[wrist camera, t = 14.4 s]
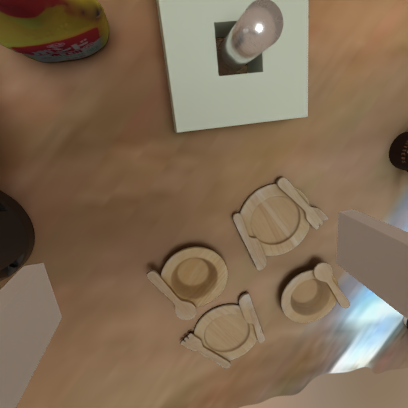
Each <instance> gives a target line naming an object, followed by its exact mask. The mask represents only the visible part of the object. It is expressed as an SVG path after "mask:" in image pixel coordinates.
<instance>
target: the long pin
mask: <svg viewBox="0 0 408 408" xmlns="http://www.w3.org/2000/svg"><path fill="white" fill-rule="evenodd" d="M282 30H283V16H282V13H281V10H280V9H279V7H278V6H277V5H276V4H275V3H274V2H273V1H271V0H255V1H254V2H252V3H251V4H250V5H249V6H248V7H247V9H246V10H245V11H244V13H243V14H242V16H241V17H240V18H239V20H238V21H237V22H236V24H235V25H234V27H233V28H232V29H231V31H230V32H229V33H228V35H227V36H226V38H225V39H224V40H223V42H222V43H221V44H220V46H219V47H218V48H217V50H216V51H217V62H218V72H219V73H221V74H223V75H231V74H233V73H235V72H236V71H238V70H239V69H240V68H242V67H243V66H244V65H246V64H247V63H248V62H250V61H251V60H253V59H254V58H255V57H257V56H258V55H259V54H261V53H262V52H263V51H265V50H266V49H268V48H269V47H270V46H272V45H273V44H274V43H275V42H276V41H277V40H278V39H279V37H280V35H281V33H282Z"/></svg>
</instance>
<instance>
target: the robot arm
mask: <svg viewBox="0 0 408 408" xmlns="http://www.w3.org/2000/svg"><path fill="white" fill-rule="evenodd" d="M33 246H34V230H33V226H32V223H31V221H30V219H29V217H28V215H27V214H26V212H25V211H24V210H23V208H22V207H21V206H20V205H19V204H18V203H17V202H16V201H15V200H13V199H12V198H11V197H9V196H8V195H6V194H4V193H3V192H1V191H0V281H2V280H4V279H6V278H7V277H9V276H10V275H12V274H13V273H14V272H16V271H17V270H18V269H19V268H20V267H21V266H22V265H23V264H24V263H25V262H26V260H27V259H28V258H29V256H30V254H31V252H32V249H33ZM336 264H338V265H339V266H340V267H342V268H343V269H344V270H345V271H347V272H348V273H349V274H350V275H352V276H353V277H354V278H356V279H357V280H358V281H359V282H361V283H362V284H363V285H365V286H366V287H367V288H368V289H370V290H371V291H372V292H374V293H375V294H376V295H377V296H379V297H380V298H381V299H383V300H384V301H385V302H386V303H388V304H389V305H390V306H392V307H393V308H394V309H395V310H397V311H398V312H399V313H400V314H402V315H403V316H404V317H406V318H407V319H408V232H406V231H403V230H401V229H399V228H396V227H394V226H392V225H389V224H387V223H385V222H382V221H380V220H378V219H375V218H373V217H371V216H368V215H366V214H364V213H361V212H359V211H357V210H354V209H352V210H346V211H341V212H339V218H338V241H337V263H336ZM61 319H62V316H61V313H60V310H59V307H58V305H57V302H56V299H55V296H54V293H53V290H52V287H51V284H50V281H49V278H48V275H47V272H46V269H45V266H44V263H39V264H33V265H28V266H23V267H22V268H21V269H20V270H19V271H18V272H17V273H16V274H15V275H14V276H13V277H12V278H11V279H10V280H9V281H8V282H7V283H6V284H5V286H4V287H3V288H2V289H1V290H0V408H16V406H17V404H18V402H19V401H20V399H21V397H22V395H23V393H24V391H25V389H26V387H27V385H28V383H29V381H30V379H31V377H32V375H33V373H34V371H35V369H36V367H37V365H38V364H39V362H40V360H41V358H42V356H43V354H44V352H45V350H46V348H47V346H48V344H49V342H50V340H51V338H52V336H53V334H54V332H55V330H56V329H57V327H58V325H59V323H60V321H61Z"/></svg>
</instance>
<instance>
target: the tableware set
mask: <svg viewBox="0 0 408 408" xmlns="http://www.w3.org/2000/svg"><path fill="white" fill-rule="evenodd" d="M327 219H328V217H327V216H326V215H325V214H324V213H323V212H322V211H321V210H320V209H319V208H316V207H311V206H310V204H309V201H308V199H307V198H306V196H305V195H304V194H303V193H302V192H301V191H300V190H299V189H297V188H295V187H293V186H292V185H291V183H290V182H289V181H288V180H287V179H286V178H284V177H280V178H279V179H278V180H277V182H276V184H270V185H266V186H263V187H261V188H259V189H258V190H256V191H255V192H253V193H252V194H251V195H250V196H249V197H248V198H247V200H246V201H245V202H244V204H243V206H242V208H241V210H240V213H234V214H233V221H234V223H235V225H236V227H237V229H238V231H239V234H240V236H241V239H242V240H243V242H244V243H245V245H246V247H247V249H248V251H249V253H250V255H251V257H252V259H253V262H254V264H255V266H256V268H257V269H258V270H262V269H263V268H264V267H265V266H266V264H267V260H266V257H265V256H276V255H280V254H284V253H286V252H288V251H290V250H292V249H293V248H295V247H296V246H297V245H298V244H299V243H300V242H301V241H302V240H303V239H304V237H305V236H306V234H307V232H308V229H309V227H310V225H311V226H312V227H313V228H314V229H316V230H317V229H318V228H319V226H318V225H319V224H320V225H322V224H323V222H322V221H326V220H327ZM332 274H333V269H332V267H331V266H330V265H329V264H328V263H325V262H320V263H318V264H317V265H316V266H315V267H314V270H308V271H305V272H302V273H300V274H298V275H296V276H295V277H294V278H293V279H292V280H291V281H290V282H289V283H288V284H287V285H286V287H285V288H284V290H283V293H282V296H281V306H282V310H283V312H284V314H285V315H286V316H287V317H288V318H289V319H291V320H293V321H295V322H299V323H309V322H313V321H317V320H319V319H321V318H322V317H324V316H325V315H326V314H328V313H329V312H330V311H331V309H332V308H333V307H334V305H335V304H336V302H338V303H339V305H340V306H341V307H342V308H348V307H349V306H350V303H349V301H348V299H347V298H346V297H345V296H344V294H343V293H342V292H341V291H340V289H339V287H338V283H337V281H336V279H335V278H334V277H333V276H332ZM147 278H148V279H149V281H151V282H152V283H153V284H154V285H155V286H156V287H157V288H158V289H159V290H160V291H162V292H163V293H164V294H165V295H166V297H167V298H168V299H169V300H171V301H172V302H173V303H174V304H175V312H176V315H177V316H178V317H179V318H181V319H183V320H191V319H193V318H194V317H195V316H196V313H197V310H196V307H199V306H203V305H206V304H208V303H210V302H212V301H213V300H214V299H216V298H217V297H218V296H219V295H220V294H221V293H222V291H223V290H224V288H225V286H226V283H227V279H228V271H227V267H226V264H225V262H224V261H223V259H222V258H221V256H220V255H219V254H217V253H216V252H215V251H213V250H211V249H208V248H205V247H189V248H185V249H182V250H180V251H178V252H176V253H175V254H174V255H172V256H171V257H170V258H169V259H168V261H167V262H166V263H165V265H164V267H163V269H162V272H161V276H160V275H159V274H158V273H157V271H155V270H150V271H148V273H147ZM184 340H185V341H184ZM184 340H182V341H181V342H180V344H181V345H183V346H184V347H186V348H188V349H189V350H191V351H199V352H200V353H201V354H202V355H203V356H205V357H207V358H209V359H212V360H213V361H214V362H216V363H217V364H218V365H220V366H221V367H223V368H225V369H227V368H229V367H230V366H231V363H230V361H229V360H232V359H235V358H238V357H240V356H242V355H244V354H245V353H246V352H248V351H249V350H250V349H251V348H252V347H253V345H254V344H255V343H256V341H257V340H258V342H259V343H262V342H264V341H265V338H264V335H263V332H262V329H261V326H260V324H259V321H258V318H257V315H256V312H255V310H254V307H253V304H252V301H251V298H250V296H249V294H248V292H247V293H244V294H242V295H241V296H240V298H239V305H236V304H226V305H221V306H218V307H215V308H213V309H211V310H209V311H208V312H206V313H205V314H204V315H203V316H202V317H201V318H200V319H199V321H198V322H197V324H196V326H195V329H194V334H192V333H189V334H188V337H185V338H184Z"/></svg>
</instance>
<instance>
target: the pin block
mask: <svg viewBox="0 0 408 408" xmlns="http://www.w3.org/2000/svg"><path fill="white" fill-rule="evenodd" d="M254 1H255V0H156V3H157V10H158V17H159V24H160V31H161V38H162V46H163V53H164V60H165V67H166V74H167V81H168V88H169V95H170V102H171V109H172V116H173V123H174V130H175V132H177V133H178V132H186V131H194V130H202V129H211V128H219V127H227V126H235V125H243V124H251V123H259V122H267V121H276V120H284V119H292V118H300V117H308V0H271V1H273V2H274V3H275V4H276V5H277V6H278V7H279V9H280V10H281V13H282V16H283V30H282V33H281V35H280V37H279V39H278V40H277V41H276V42H275V43H274V44H273V45H272V46H270V47H269V48H268V49H266V50H265V51H263V52H262V53H261V54H259V55H258V56H257V57H255V58H254V59H253V60H251V61H250V62H248V63H247V68H248V73H246V74H236V75H226V76H219V74H218V62H217V51H216V39H215V38H219V37H226V36H227V35H228V33H229V32H230V31H231V29H232V28H233V27H234V25H235V24H236V22H237V21H238V20H239V18H240V17H241V16H242V14H243V13H244V11H245V10H246V9H247V7H248V6H249V5H250V4H251V3H252V2H254Z"/></svg>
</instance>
